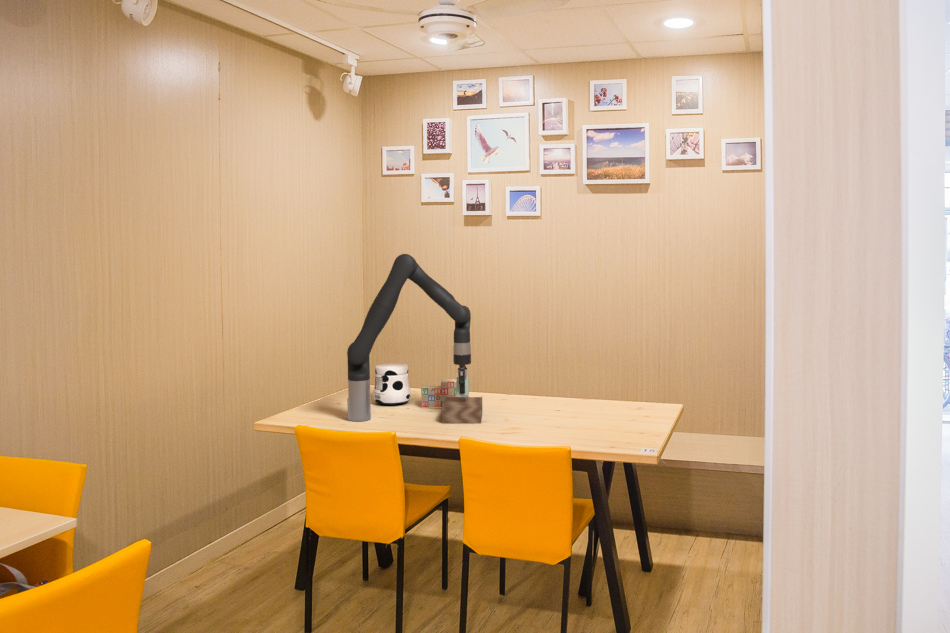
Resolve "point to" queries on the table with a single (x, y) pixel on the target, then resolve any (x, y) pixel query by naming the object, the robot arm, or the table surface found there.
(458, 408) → the block
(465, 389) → the sage block
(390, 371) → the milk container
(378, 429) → the table surface
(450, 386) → the stack of blocks
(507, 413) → the table surface
